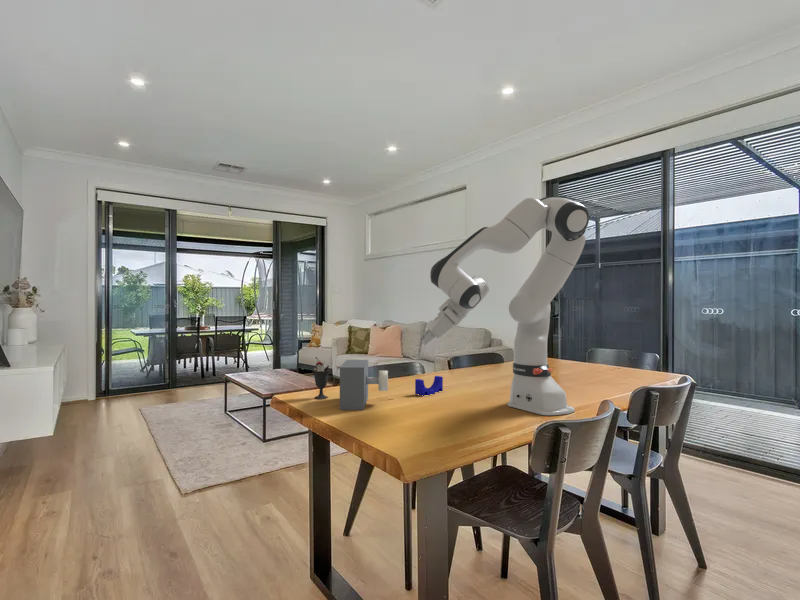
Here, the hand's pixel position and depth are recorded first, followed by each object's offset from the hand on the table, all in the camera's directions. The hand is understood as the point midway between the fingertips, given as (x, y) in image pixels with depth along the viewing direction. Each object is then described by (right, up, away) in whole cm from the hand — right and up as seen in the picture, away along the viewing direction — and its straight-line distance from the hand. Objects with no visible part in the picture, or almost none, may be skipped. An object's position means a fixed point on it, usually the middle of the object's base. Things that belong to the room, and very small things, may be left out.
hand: (422, 341), depth 150 cm
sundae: (-37, -22, +8) cm, 44 cm away
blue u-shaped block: (+4, -22, +17) cm, 28 cm away
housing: (-24, -22, 0) cm, 32 cm away
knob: (-17, -17, 0) cm, 24 cm away
